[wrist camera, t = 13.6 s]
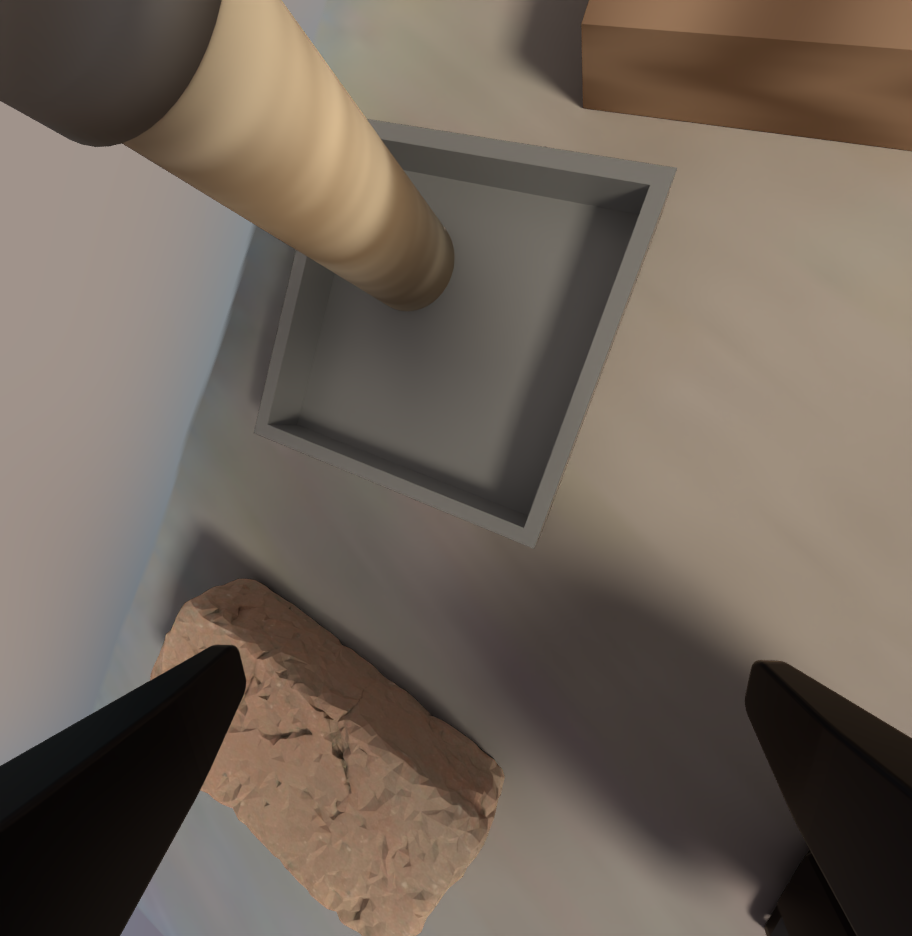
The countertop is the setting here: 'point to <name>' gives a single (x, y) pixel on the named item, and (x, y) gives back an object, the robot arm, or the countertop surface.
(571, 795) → the countertop surface
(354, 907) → the brick
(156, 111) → the pin
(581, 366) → the tray
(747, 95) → the socket block
